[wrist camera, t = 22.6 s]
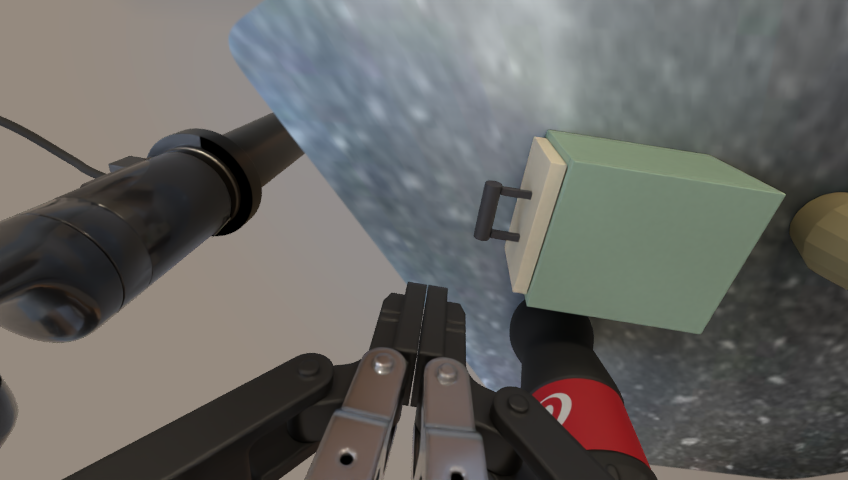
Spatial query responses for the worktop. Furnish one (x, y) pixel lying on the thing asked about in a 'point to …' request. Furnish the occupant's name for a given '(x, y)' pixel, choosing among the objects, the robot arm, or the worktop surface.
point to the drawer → (525, 211)
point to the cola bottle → (577, 387)
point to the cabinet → (647, 233)
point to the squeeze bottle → (824, 236)
